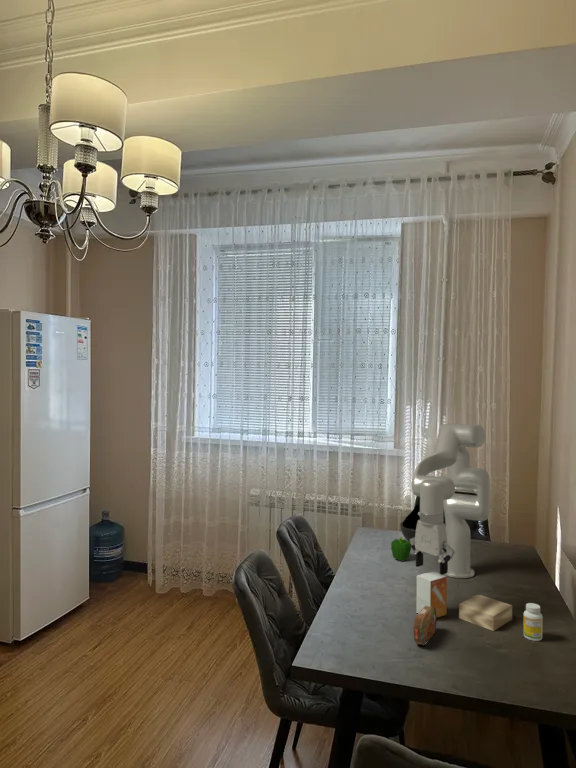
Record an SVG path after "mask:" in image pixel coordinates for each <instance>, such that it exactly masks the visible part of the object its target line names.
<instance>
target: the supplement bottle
mask: <svg viewBox="0 0 576 768" xmlns="http://www.w3.org/2000/svg"><path fill="white" fill-rule="evenodd" d="M522 614H523V618H522V619H523V625H522V626H523V636H524V637H525V639H527V640H529V641H534V642H539V641H542V639H543V630H544V629H543V628H544V627H543V621H544V619H543V614H542V613H541V606H540V605H539V604H538V603H534V602H528V603H526V604H525V610H524V612H523V613H522Z"/></svg>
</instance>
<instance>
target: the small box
mask: <svg viewBox="0 0 576 768" xmlns="http://www.w3.org/2000/svg"><path fill="white" fill-rule="evenodd" d="M447 594H448V576H447V575H445V574H443V575H441V574H440V572H437V571H435V570H431V571H429V572H424V573H421V574H417V575H416V604H415V605H416V607H415V608H416V610H415V611H416V613H418V614H419V612H420V611H421V610H422V609H423V608H424V607H425V606H429V607H434V608H435V610H436V615H437V619H438V618H441V617H444V616H447V613H448V612H447V607H448V606H447V604H448V603H447V602H448V600H447V599H448V597H447V596H448V595H447ZM418 614H417V615H418Z"/></svg>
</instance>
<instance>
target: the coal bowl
mask: <svg viewBox="0 0 576 768" xmlns="http://www.w3.org/2000/svg"><path fill="white" fill-rule="evenodd" d="M418 512H420V504H417V505H416V506H414V509H412V510H411V512H410V513H408V514H407V516H406V517H404V518H405V519H404V520H403V521H402V522H400V525H399V526H400V531H401V534H402V535H403V537H404V538H405V540H407V541H409V542H410V539H411V538H414V537H415V533H416V527H417V522H418V520H420V516H418Z"/></svg>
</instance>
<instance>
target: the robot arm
mask: <svg viewBox="0 0 576 768" xmlns="http://www.w3.org/2000/svg"><path fill="white" fill-rule="evenodd" d="M485 440H486V430H485V428H484V426H482V425H481V424H470V423H469V424H467V423H466V424H464V423H446V424H442V425H440V426H439V428H438V434H437V438H436V441H435V445H434V449H433V452H432V453H430V454H428V455H427V456H426V457H424V458H423V459H422V460H421V461H420V462H419V463H418V464H417V466H416V467H415V470H414V472H413V473H414V474H413V475H412V476H413V477H412V480H411V491H412V493H413V495H415V496H416V497H419V505H420V512H418V516H420V520H418V522H417V527H416V533H415V537H414V538H411V539H410V543H411V550H413V554H414V555H415V567H417V568H418V567H421V566H423V565H424V553H425V554H428V555H431V556H434V557H438V561H437V563H438V564H439V573H440V574H441V575H445V576H447V577H451V578H454V579H470V578H473V577H474V576H475V569H474V568H471V529H470V526H469V525H468V523H467V521H466V520H470V521H478V522H479V521H480V522H484V521H486V520H488V518H489V516H490V509H491V508H490V506H491V505H490V500H491V499H490V497H491V496H490V495H491V494H490V493H491V492H490V490H491V489H490V487H491V486H490V484H491V483H490V482H491V481H490V475H489V472H488V471H487V470H486V469H485V468H481V467H473V466H472V467H471V463H470V461H471V459H470V458H471V456H470V454H471V453H470V452H469V451H468V449H467V448H472V449H473V448H475V449H476V448H480V447H482V446H483V445H484V443H485ZM446 468H447V469H446ZM443 469H446V470H447V472H446V473H447V474H446V475H447V477H445V476H437V475H428V474H430V473H433V472H435V471H439V470H443ZM456 491H460V492H471V493H475V494H476V495H473V494H471V495H470V494H465V493H464V494H463V493H456ZM444 522H445V523H444Z"/></svg>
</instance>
